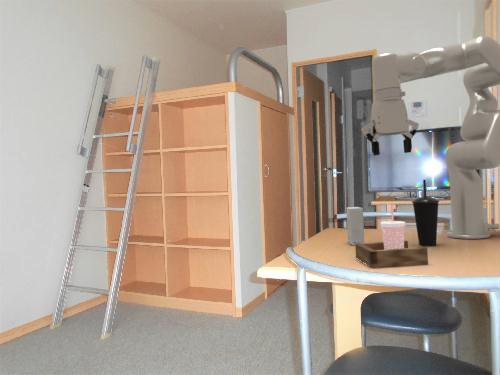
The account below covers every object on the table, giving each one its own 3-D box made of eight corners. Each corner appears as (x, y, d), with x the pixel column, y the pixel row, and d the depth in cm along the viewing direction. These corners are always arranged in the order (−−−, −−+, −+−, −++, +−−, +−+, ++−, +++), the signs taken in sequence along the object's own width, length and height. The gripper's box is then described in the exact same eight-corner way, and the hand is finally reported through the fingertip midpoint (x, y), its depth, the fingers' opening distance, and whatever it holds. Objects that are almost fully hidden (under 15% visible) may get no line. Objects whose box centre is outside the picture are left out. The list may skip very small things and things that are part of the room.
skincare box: (365, 245, 126) (363, 207, 126) (351, 245, 127) (349, 208, 126) (360, 242, 133) (358, 206, 132) (347, 242, 133) (345, 207, 132)
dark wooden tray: (406, 255, 108) (405, 240, 108) (428, 264, 96) (427, 247, 96) (356, 258, 107) (355, 243, 107) (371, 268, 95) (370, 251, 95)
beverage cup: (384, 254, 106) (382, 202, 106) (409, 255, 103) (406, 201, 102) (379, 258, 101) (376, 204, 100) (404, 260, 98) (401, 203, 97)
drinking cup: (412, 246, 119) (409, 180, 118) (415, 242, 126) (412, 180, 125) (440, 247, 115) (437, 179, 115) (441, 243, 122) (438, 178, 122)
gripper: (409, 97, 122) (413, 152, 122) (355, 101, 121) (359, 157, 121) (422, 91, 114) (426, 150, 115) (364, 96, 113) (368, 155, 114)
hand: (392, 153), depth 118 cm, fingers open, 9 cm apart
